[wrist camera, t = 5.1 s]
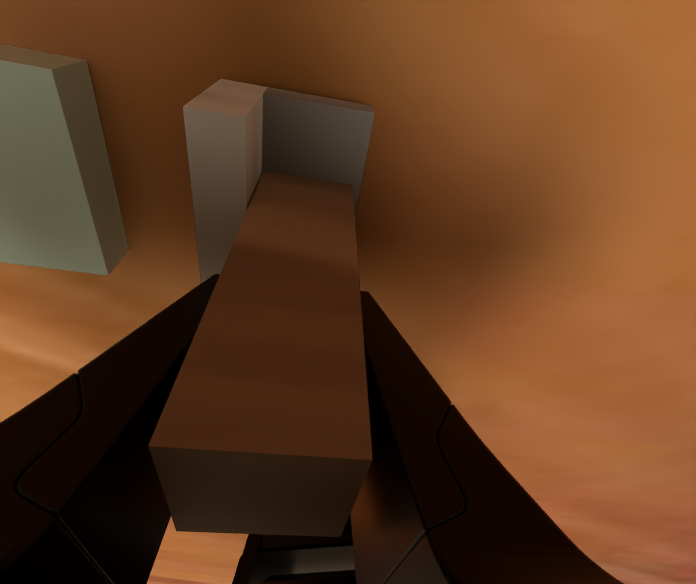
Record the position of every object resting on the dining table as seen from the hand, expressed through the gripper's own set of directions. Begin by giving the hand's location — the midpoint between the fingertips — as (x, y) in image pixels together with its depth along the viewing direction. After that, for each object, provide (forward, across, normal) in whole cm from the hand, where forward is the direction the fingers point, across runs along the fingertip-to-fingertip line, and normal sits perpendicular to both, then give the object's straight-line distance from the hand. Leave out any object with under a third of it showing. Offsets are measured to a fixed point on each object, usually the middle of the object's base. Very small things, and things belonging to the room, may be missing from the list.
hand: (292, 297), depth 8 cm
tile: (+6, +9, 0) cm, 11 cm away
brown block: (+4, +1, 0) cm, 5 cm away
